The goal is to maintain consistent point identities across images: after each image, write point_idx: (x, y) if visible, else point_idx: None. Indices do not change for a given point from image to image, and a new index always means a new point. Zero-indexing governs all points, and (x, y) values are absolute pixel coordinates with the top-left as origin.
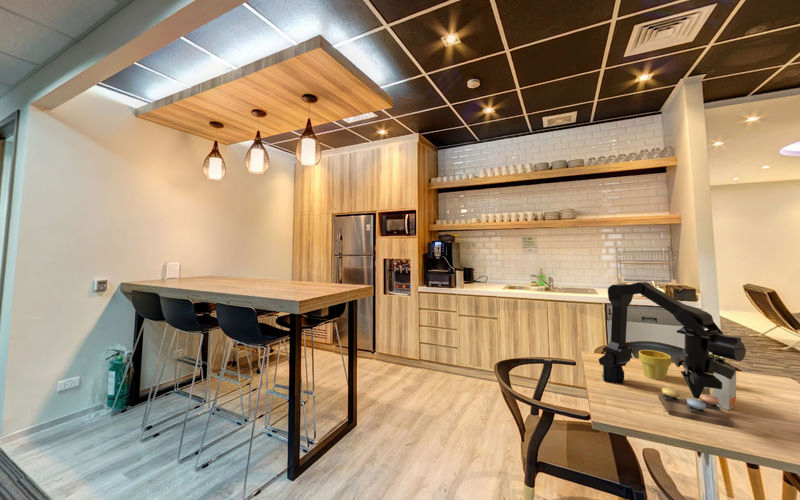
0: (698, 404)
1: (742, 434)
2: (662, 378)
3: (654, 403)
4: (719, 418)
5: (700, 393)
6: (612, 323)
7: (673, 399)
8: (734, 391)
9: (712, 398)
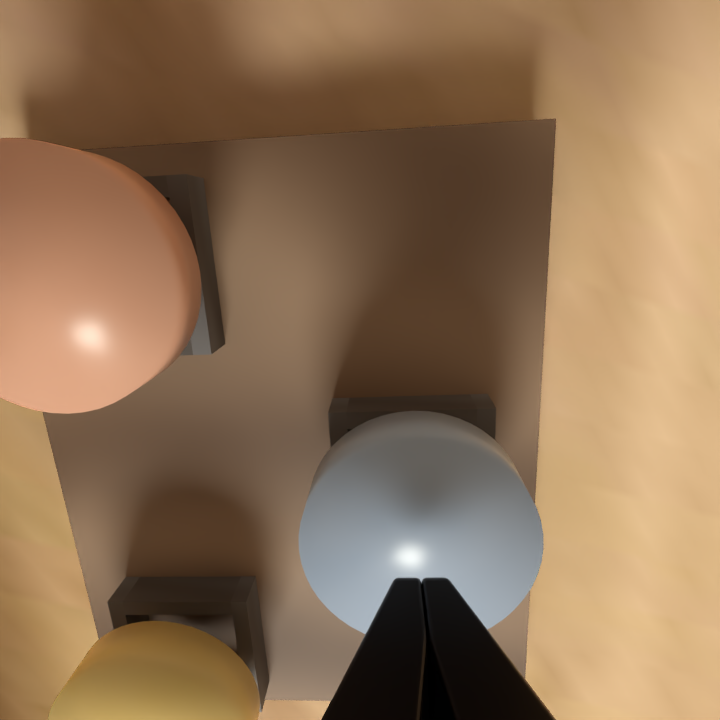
0: (521, 548)
1: (696, 88)
2: None
3: (301, 707)
4: (500, 261)
5: (523, 690)
6: None
7: (251, 645)
8: None
9: (69, 249)
